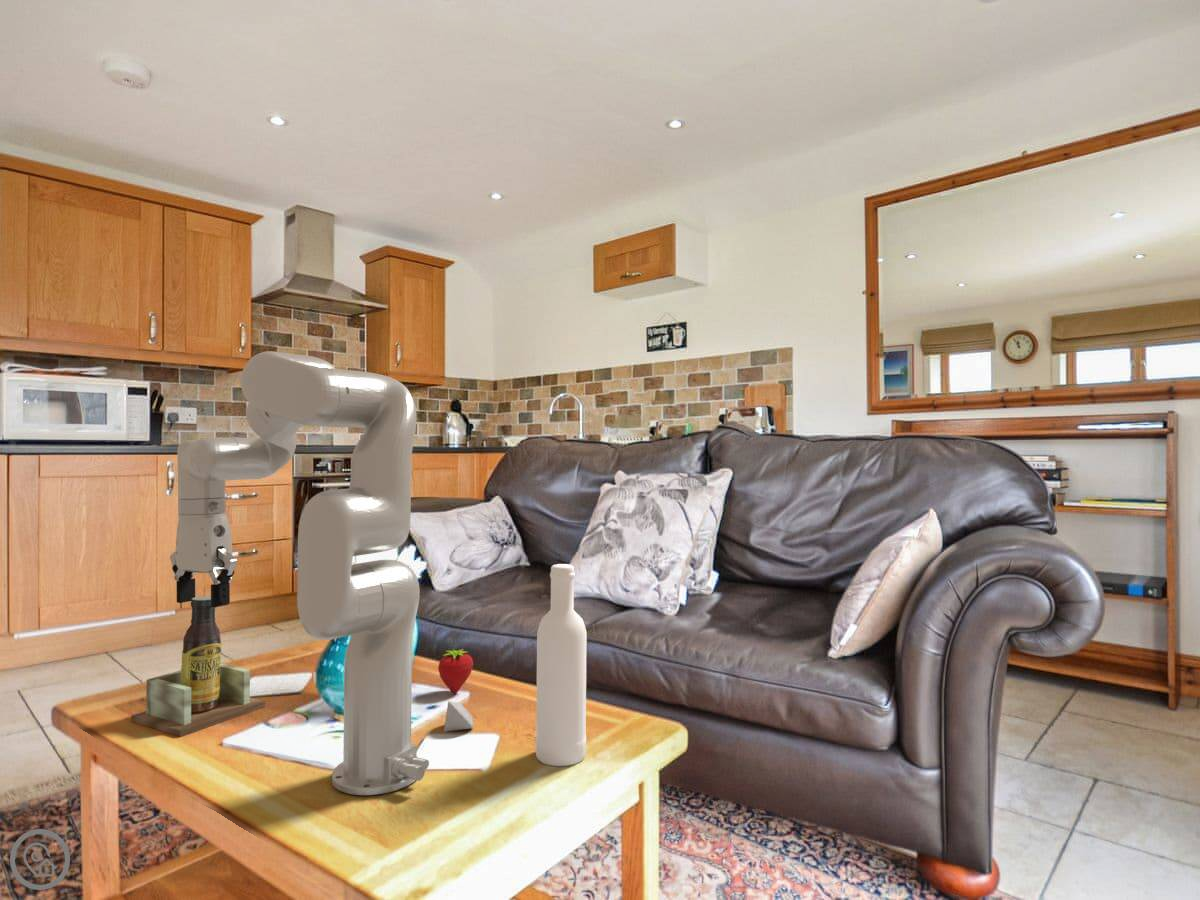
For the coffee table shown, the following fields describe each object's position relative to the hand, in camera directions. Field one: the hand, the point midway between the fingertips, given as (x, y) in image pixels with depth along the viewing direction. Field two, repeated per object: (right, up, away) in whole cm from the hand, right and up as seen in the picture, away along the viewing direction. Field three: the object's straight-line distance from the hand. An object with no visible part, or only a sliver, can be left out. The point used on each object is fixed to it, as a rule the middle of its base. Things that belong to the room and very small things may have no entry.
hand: (203, 603), depth 129 cm
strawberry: (+43, -21, +13) cm, 49 cm away
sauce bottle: (-1, -19, 0) cm, 19 cm away
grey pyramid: (+47, -21, -5) cm, 52 cm away
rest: (-1, -20, 0) cm, 20 cm away
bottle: (+65, -21, -16) cm, 70 cm away
